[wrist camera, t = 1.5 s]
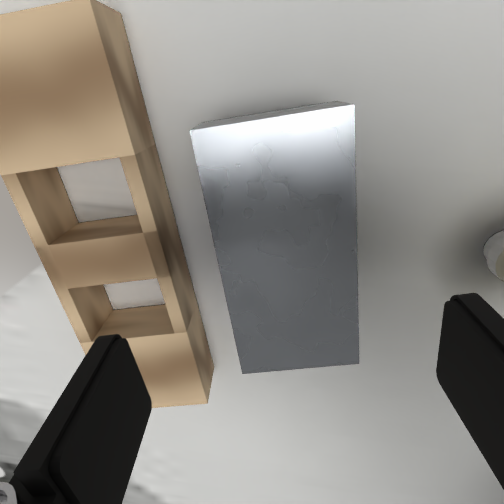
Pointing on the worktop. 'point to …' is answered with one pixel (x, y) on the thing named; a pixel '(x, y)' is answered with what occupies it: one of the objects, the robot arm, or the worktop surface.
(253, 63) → the worktop surface
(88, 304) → the light brown long block
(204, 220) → the worktop surface
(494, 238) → the light bulb
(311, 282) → the brushed steel slab
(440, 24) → the worktop surface
